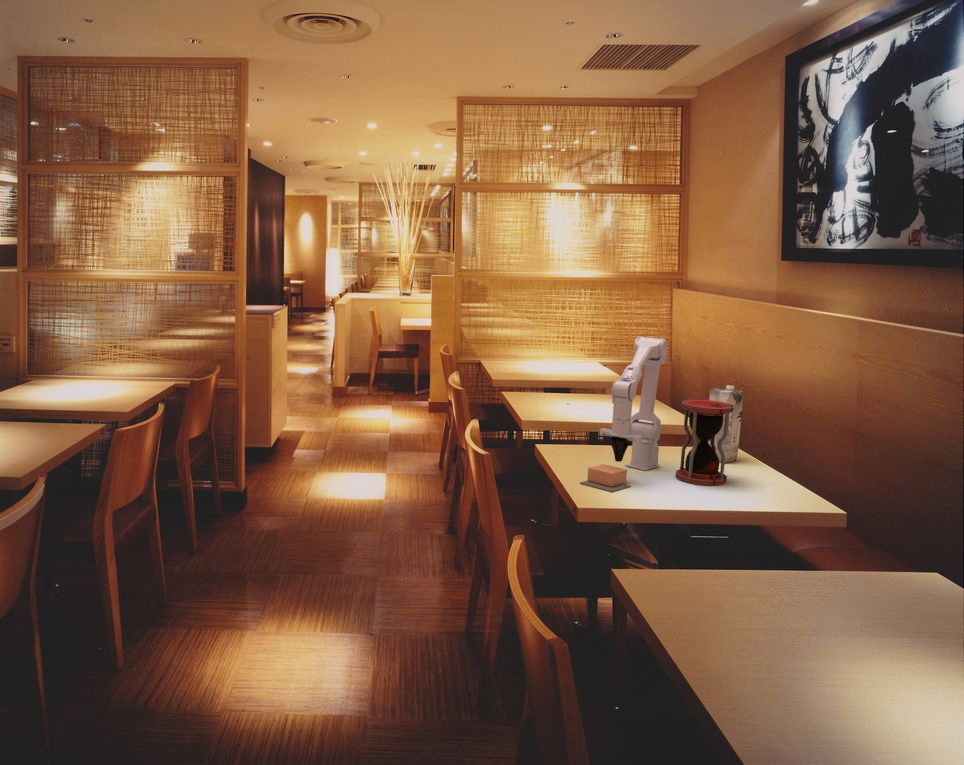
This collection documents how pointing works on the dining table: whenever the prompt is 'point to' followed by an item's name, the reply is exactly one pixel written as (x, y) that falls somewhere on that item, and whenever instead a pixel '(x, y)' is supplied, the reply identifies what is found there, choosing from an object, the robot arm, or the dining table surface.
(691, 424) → the hourglass
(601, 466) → the orange rectangular block
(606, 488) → the charcoal mat
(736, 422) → the juice carton
